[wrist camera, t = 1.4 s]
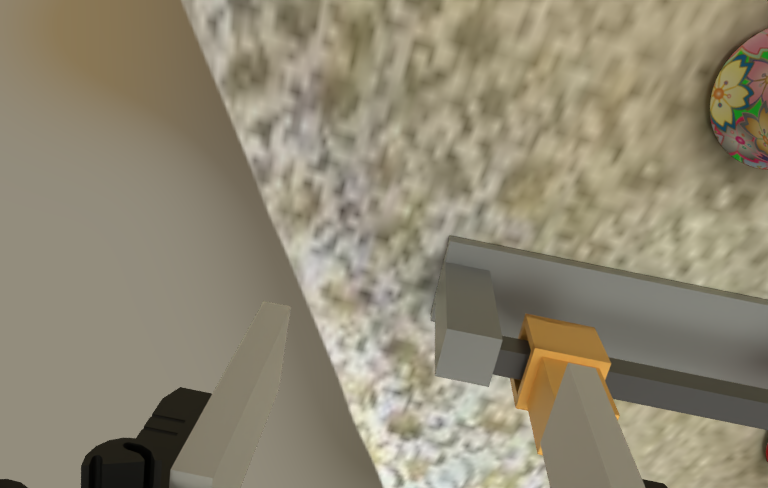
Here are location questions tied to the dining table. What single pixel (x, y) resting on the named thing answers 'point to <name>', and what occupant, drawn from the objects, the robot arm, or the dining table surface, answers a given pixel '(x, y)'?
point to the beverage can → (767, 452)
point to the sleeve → (555, 365)
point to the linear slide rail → (605, 329)
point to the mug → (743, 103)
